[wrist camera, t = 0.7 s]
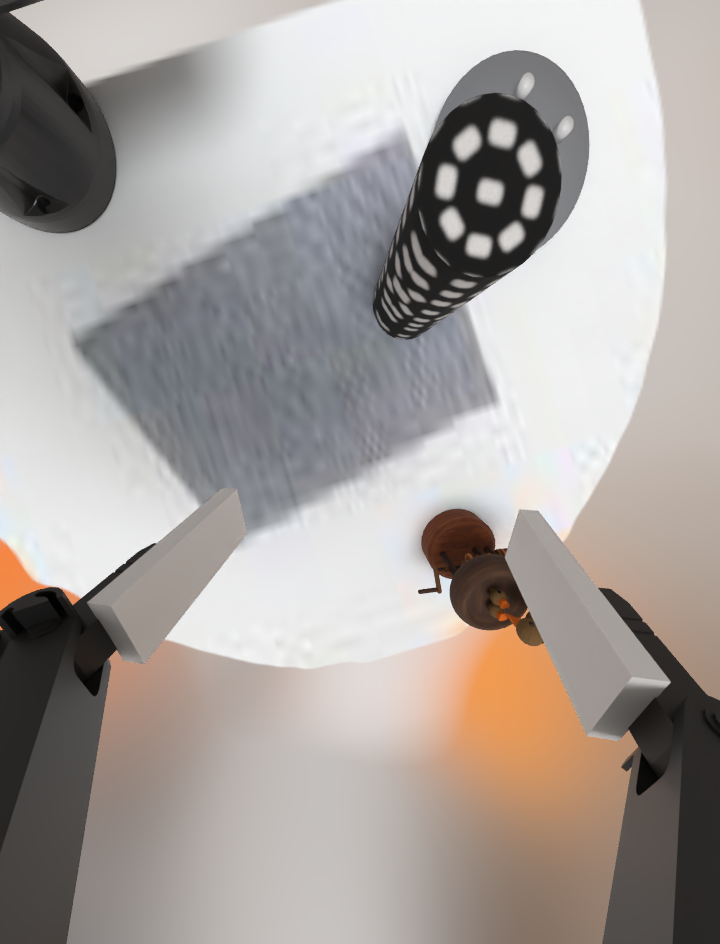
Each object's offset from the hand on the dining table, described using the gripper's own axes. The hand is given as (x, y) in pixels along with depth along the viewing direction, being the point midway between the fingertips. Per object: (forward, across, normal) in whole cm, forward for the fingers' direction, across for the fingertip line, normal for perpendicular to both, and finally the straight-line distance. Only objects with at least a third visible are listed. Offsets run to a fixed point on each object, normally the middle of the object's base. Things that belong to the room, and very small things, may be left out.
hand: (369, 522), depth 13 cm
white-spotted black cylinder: (+30, +1, +12) cm, 32 cm away
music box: (+26, +10, -22) cm, 35 cm away
